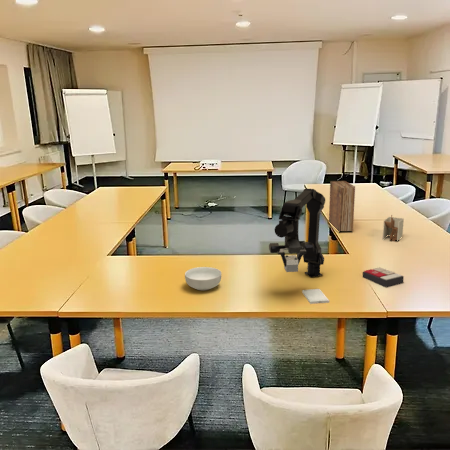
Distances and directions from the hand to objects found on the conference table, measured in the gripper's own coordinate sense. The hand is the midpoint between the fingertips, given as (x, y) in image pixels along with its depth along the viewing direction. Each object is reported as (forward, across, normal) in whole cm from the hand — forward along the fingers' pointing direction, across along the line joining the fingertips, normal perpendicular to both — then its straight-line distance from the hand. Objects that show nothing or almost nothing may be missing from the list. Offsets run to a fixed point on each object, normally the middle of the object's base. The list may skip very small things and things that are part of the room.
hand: (291, 266), depth 193 cm
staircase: (+14, +76, +74) cm, 107 cm away
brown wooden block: (+13, +52, +103) cm, 116 cm away
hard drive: (+13, +10, -6) cm, 17 cm away
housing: (+2, 0, 0) cm, 2 cm away
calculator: (+13, +45, +11) cm, 48 cm away
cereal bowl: (+13, -38, +10) cm, 42 cm away
